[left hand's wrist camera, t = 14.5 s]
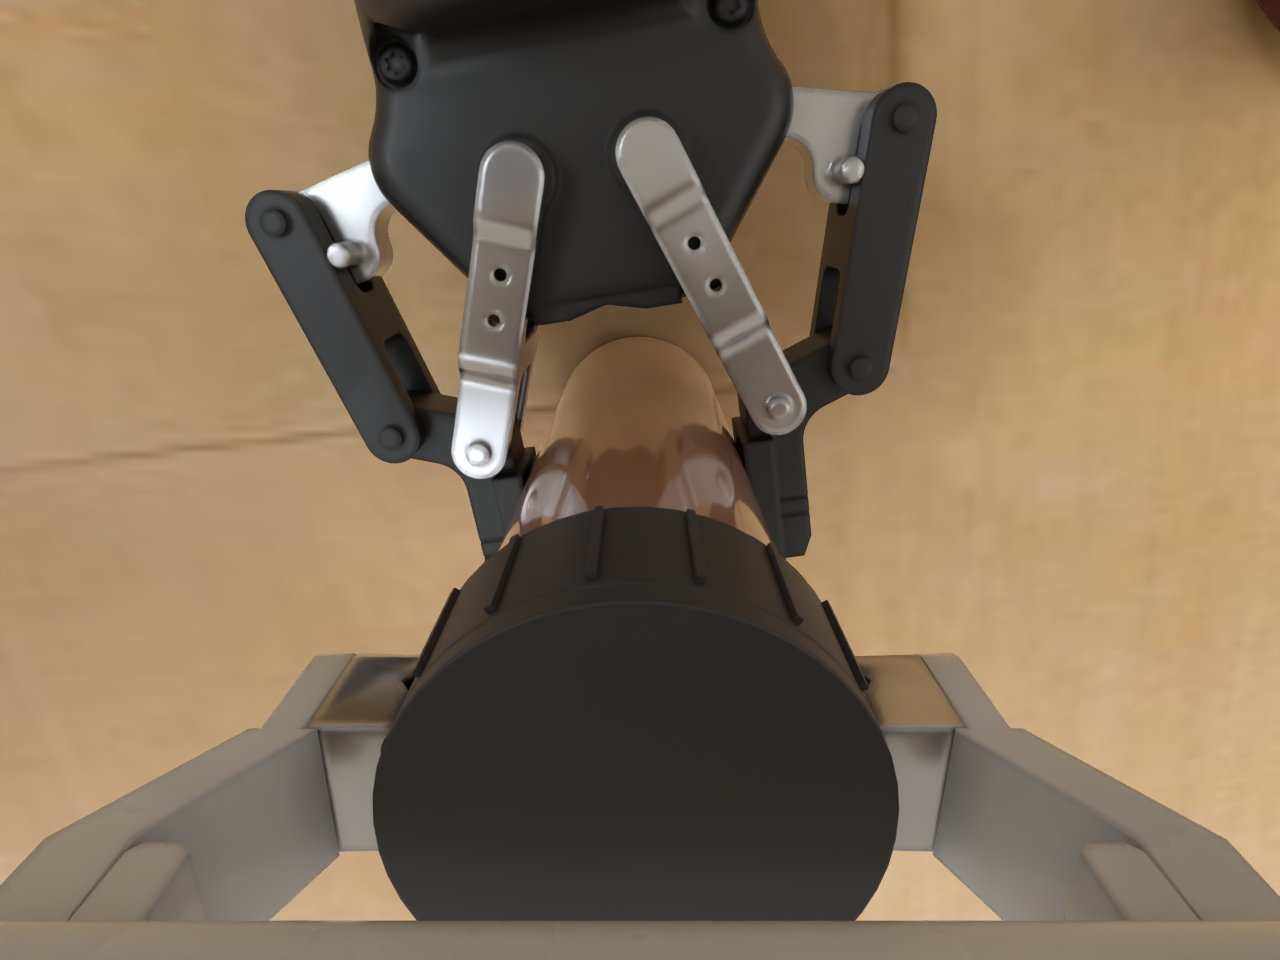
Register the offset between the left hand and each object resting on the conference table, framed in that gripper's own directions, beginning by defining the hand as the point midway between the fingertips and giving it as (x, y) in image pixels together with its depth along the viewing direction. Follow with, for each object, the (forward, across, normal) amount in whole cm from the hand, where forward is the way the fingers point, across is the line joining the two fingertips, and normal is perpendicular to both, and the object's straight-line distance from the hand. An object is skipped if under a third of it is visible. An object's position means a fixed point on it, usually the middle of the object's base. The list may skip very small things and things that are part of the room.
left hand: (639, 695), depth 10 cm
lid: (-2, 0, 0) cm, 2 cm away
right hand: (+8, 0, -2) cm, 9 cm away
